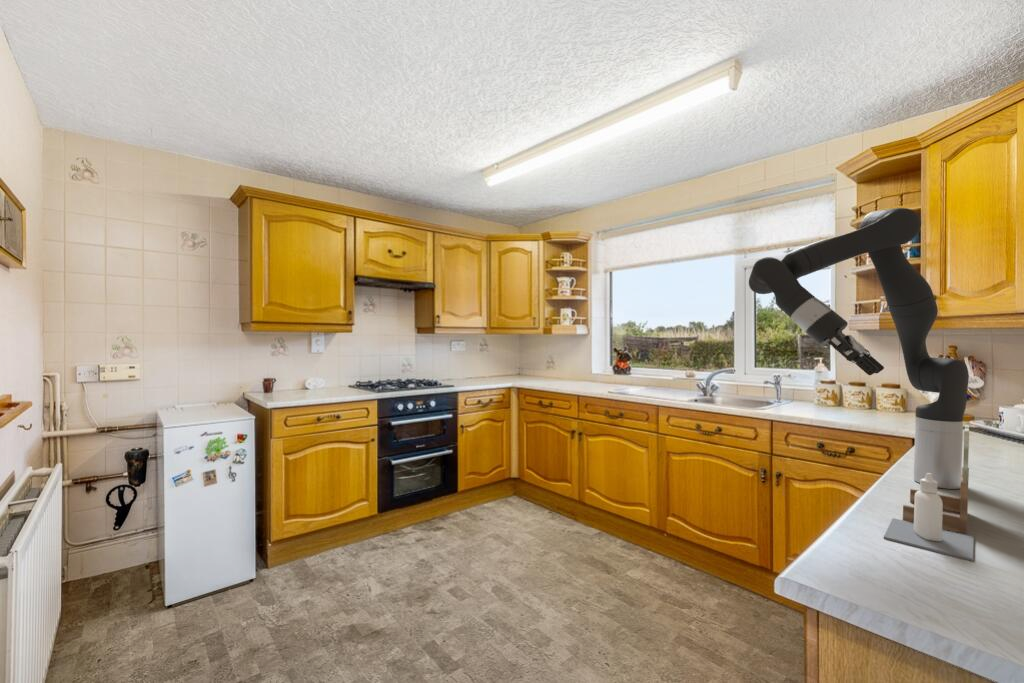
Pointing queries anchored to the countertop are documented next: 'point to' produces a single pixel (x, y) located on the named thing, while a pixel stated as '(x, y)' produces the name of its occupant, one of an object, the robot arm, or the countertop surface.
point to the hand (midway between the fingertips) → (877, 371)
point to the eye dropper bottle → (928, 510)
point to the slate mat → (949, 545)
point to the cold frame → (950, 498)
